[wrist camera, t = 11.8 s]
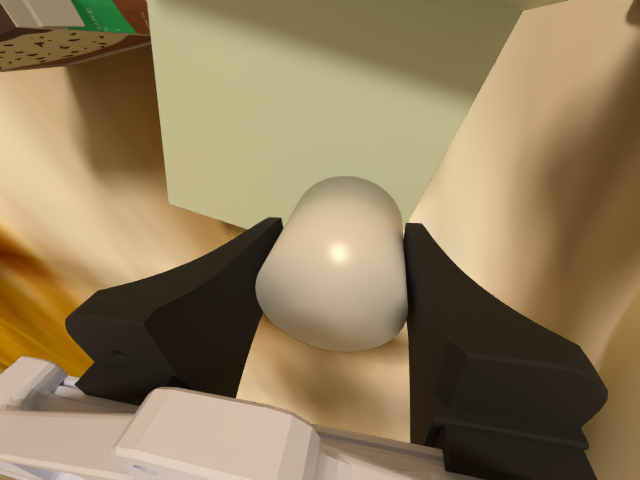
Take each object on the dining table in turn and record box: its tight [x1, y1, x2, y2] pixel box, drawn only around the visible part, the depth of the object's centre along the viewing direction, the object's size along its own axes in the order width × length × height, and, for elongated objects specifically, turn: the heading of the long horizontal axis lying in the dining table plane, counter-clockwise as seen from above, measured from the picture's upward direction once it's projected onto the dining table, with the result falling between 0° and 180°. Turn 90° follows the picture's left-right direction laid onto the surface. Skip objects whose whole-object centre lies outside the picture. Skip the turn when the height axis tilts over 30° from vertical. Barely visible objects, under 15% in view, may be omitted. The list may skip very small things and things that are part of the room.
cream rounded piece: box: [255, 176, 408, 352], centre depth 11 cm, size 5×5×5 cm
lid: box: [147, 0, 568, 230], centre depth 12 cm, size 14×14×4 cm
